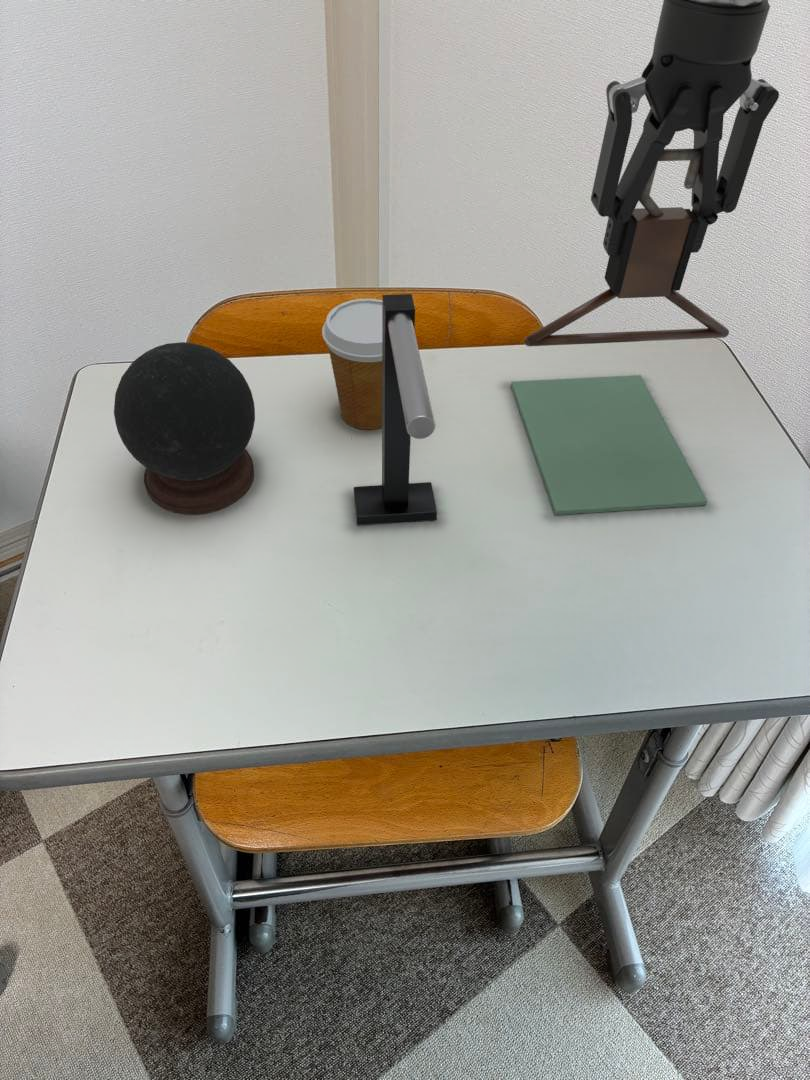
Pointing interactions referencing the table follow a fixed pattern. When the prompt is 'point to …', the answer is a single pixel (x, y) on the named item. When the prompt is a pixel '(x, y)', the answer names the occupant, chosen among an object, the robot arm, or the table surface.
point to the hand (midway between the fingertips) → (641, 283)
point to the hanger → (646, 271)
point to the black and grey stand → (399, 423)
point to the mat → (604, 446)
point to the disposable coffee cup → (357, 360)
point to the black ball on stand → (187, 426)
